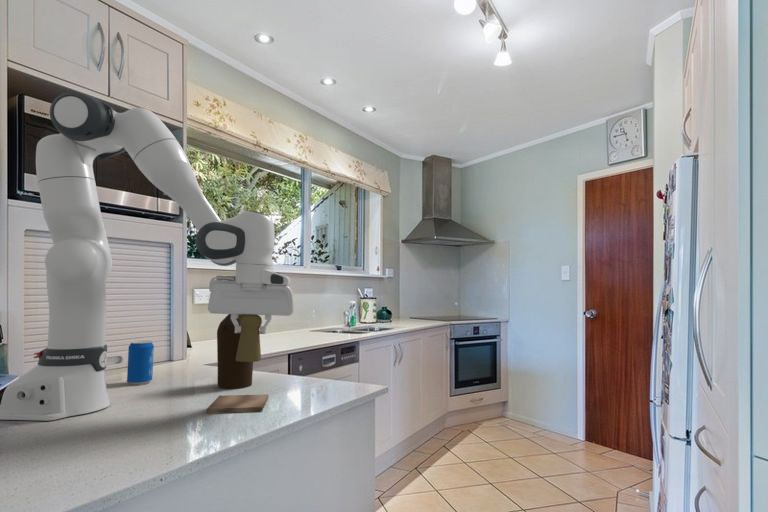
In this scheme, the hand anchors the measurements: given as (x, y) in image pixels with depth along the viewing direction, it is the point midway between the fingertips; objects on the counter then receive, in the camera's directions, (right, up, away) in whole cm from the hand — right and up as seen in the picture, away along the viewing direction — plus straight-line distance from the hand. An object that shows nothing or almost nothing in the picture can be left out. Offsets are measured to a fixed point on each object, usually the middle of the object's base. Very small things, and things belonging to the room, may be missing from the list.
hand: (250, 333), depth 107 cm
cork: (0, -7, -1) cm, 7 cm away
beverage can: (-39, -18, +21) cm, 48 cm away
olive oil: (-10, -19, +19) cm, 28 cm away
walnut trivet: (-2, -17, -2) cm, 17 cm away
